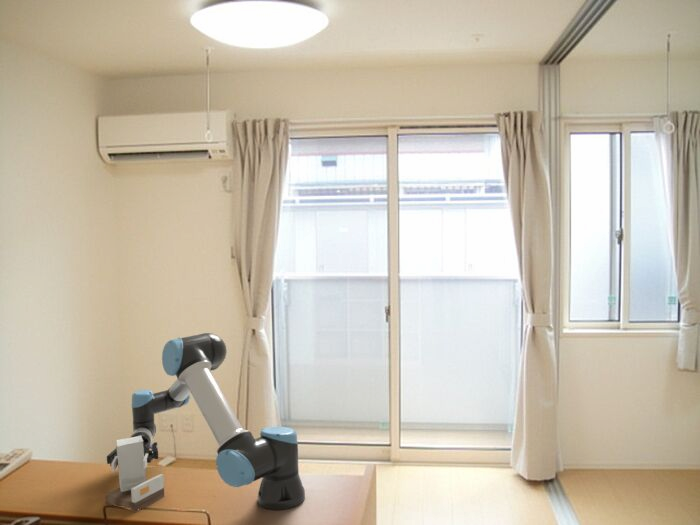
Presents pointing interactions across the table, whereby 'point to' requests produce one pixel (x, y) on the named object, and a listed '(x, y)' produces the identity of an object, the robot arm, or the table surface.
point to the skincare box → (130, 462)
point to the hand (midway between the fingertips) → (128, 466)
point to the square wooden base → (138, 494)
